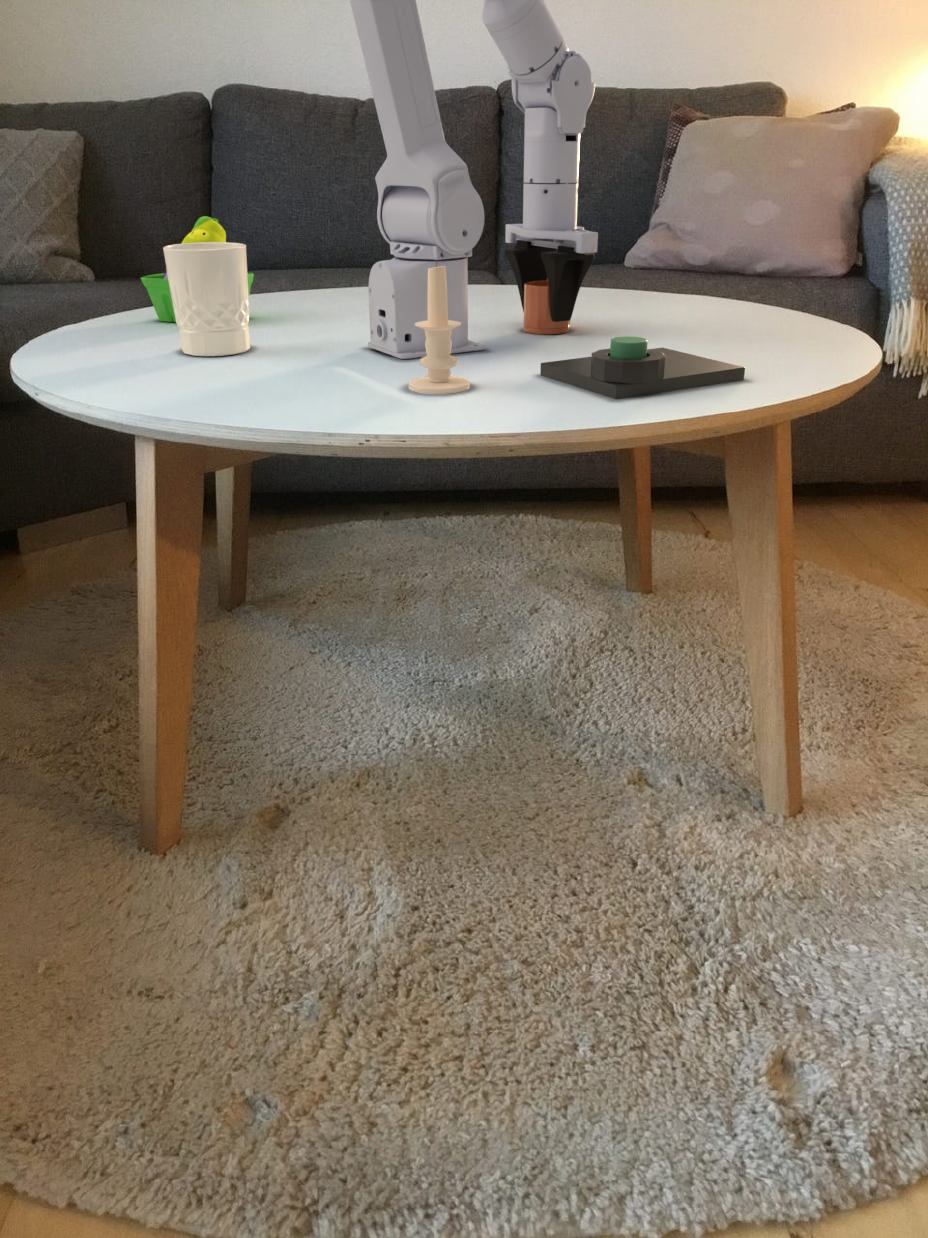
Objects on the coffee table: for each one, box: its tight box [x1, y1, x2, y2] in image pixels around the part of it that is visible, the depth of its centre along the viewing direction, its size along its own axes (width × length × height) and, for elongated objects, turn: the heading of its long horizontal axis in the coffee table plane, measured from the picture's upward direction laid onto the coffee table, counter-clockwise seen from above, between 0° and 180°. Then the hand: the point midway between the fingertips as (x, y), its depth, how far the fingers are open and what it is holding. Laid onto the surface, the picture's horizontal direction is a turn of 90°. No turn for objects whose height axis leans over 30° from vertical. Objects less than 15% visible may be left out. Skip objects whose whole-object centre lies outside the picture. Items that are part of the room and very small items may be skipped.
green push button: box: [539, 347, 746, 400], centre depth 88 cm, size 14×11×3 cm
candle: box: [408, 260, 471, 395], centre depth 84 cm, size 5×5×10 cm
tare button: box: [609, 335, 648, 359], centre depth 83 cm, size 3×3×2 cm
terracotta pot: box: [523, 279, 571, 335], centre depth 111 cm, size 5×5×5 cm
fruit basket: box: [140, 215, 255, 323], centre depth 118 cm, size 11×9×11 cm
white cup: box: [162, 241, 251, 357], centre depth 100 cm, size 8×8×10 cm
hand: (547, 317), depth 111 cm, fingers closed on terracotta pot, 5 cm apart
